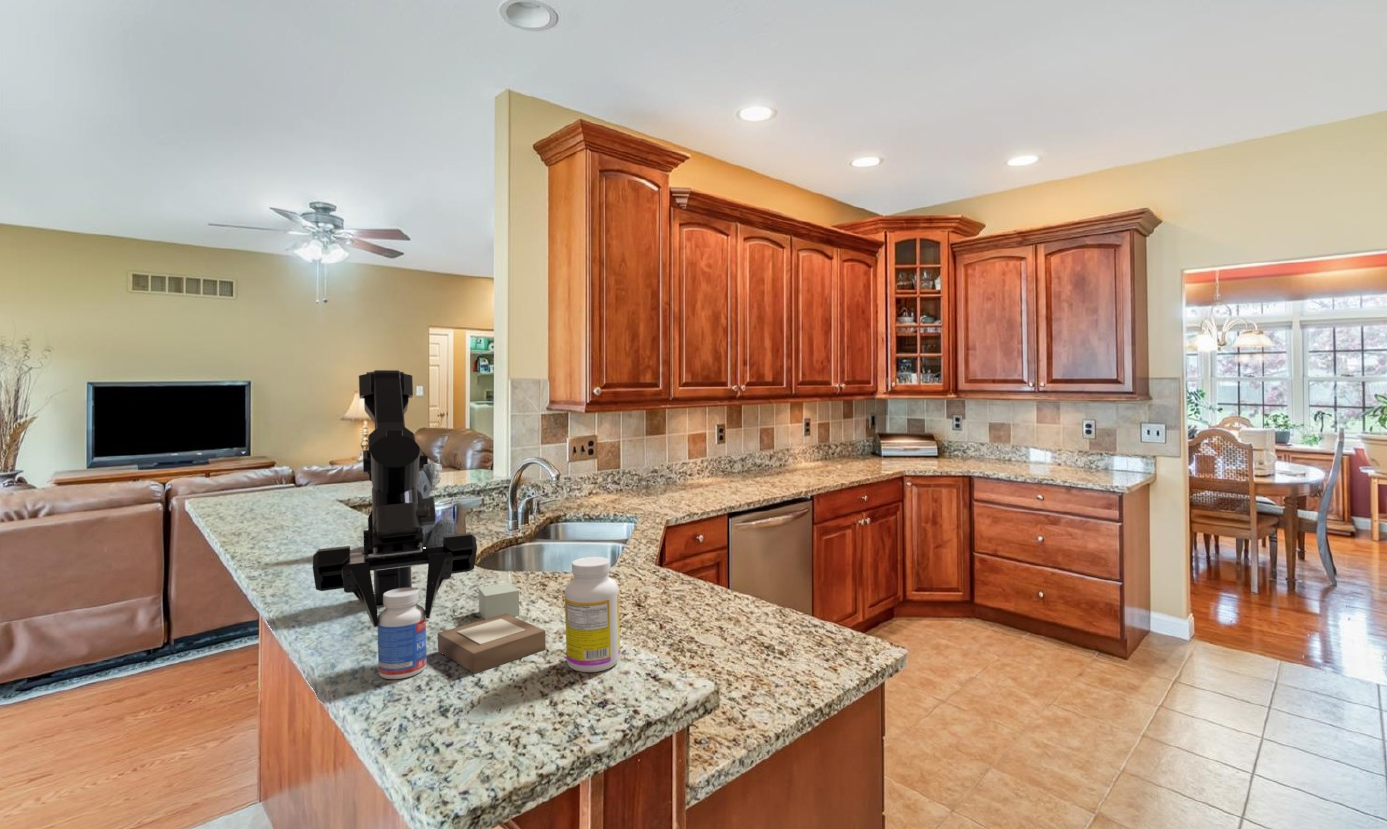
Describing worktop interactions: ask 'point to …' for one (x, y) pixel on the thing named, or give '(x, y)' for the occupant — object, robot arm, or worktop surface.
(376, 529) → the robot arm
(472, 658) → the plinth
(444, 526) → the koala plush
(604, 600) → the supplement bottle
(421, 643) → the pill bottle
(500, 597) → the block
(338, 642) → the worktop surface
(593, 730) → the worktop surface
